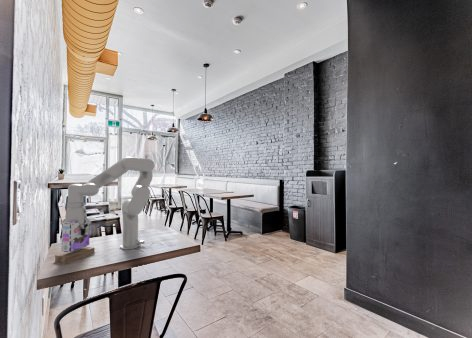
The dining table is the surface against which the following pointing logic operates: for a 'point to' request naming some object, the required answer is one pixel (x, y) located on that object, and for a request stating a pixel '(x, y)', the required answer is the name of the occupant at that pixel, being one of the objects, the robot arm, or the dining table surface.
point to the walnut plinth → (74, 255)
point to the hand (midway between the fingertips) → (76, 235)
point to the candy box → (73, 236)
